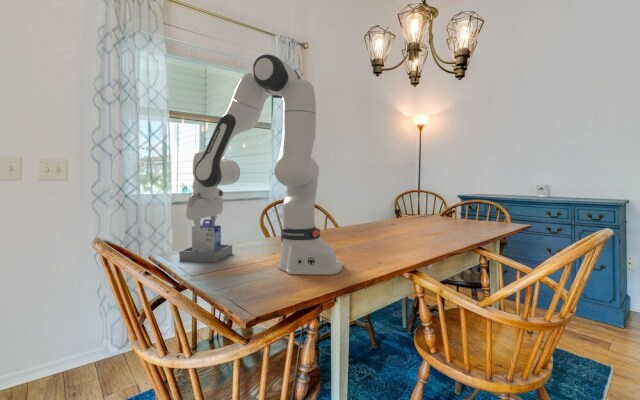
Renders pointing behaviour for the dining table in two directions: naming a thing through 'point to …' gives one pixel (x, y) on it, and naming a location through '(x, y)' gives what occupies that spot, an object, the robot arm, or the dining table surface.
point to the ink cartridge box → (206, 238)
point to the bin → (205, 254)
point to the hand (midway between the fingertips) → (205, 228)
